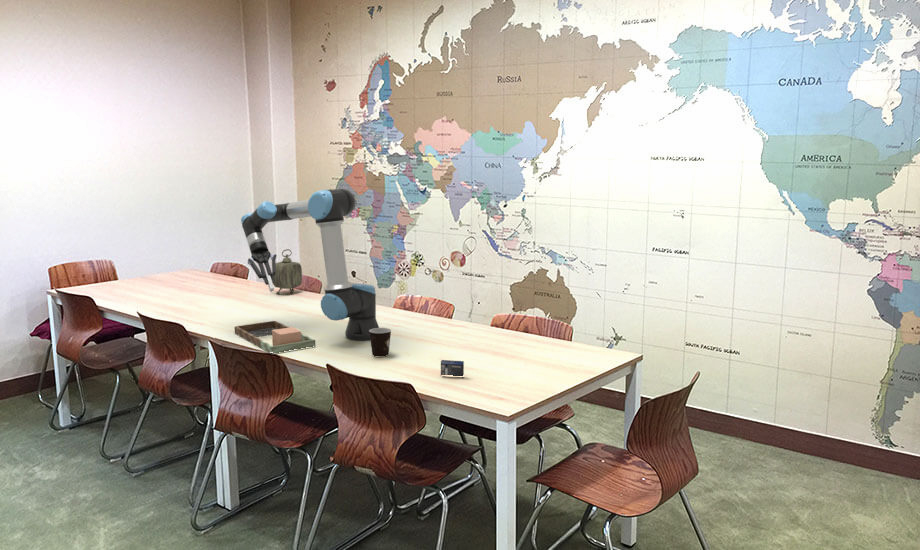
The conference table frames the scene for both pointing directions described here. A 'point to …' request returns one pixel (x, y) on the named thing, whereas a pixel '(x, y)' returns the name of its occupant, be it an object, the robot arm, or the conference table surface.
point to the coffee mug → (380, 341)
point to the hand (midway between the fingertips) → (272, 289)
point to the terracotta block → (285, 336)
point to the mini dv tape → (452, 367)
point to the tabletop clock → (287, 274)
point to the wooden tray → (250, 329)
